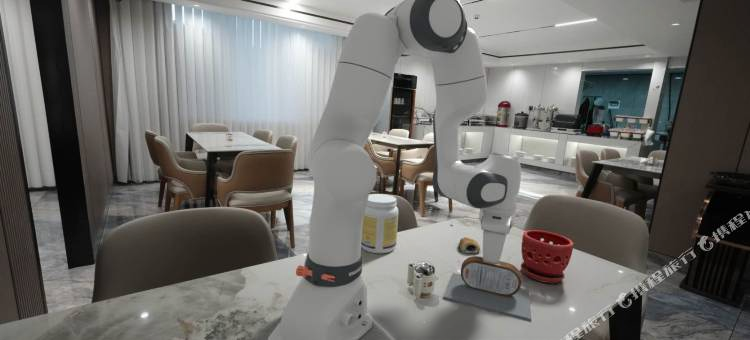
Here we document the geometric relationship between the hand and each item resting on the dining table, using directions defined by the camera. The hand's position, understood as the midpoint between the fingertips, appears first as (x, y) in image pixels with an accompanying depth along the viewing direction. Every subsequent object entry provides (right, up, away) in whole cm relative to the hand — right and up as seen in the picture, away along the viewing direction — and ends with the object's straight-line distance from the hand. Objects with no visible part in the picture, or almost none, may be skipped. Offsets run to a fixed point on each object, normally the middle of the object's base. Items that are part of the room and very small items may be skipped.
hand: (490, 265), depth 91 cm
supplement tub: (-30, 0, +23) cm, 38 cm away
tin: (-1, -6, -2) cm, 7 cm away
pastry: (+1, -2, +26) cm, 26 cm away
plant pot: (+18, -6, +9) cm, 21 cm away
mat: (-2, -7, -4) cm, 8 cm away
